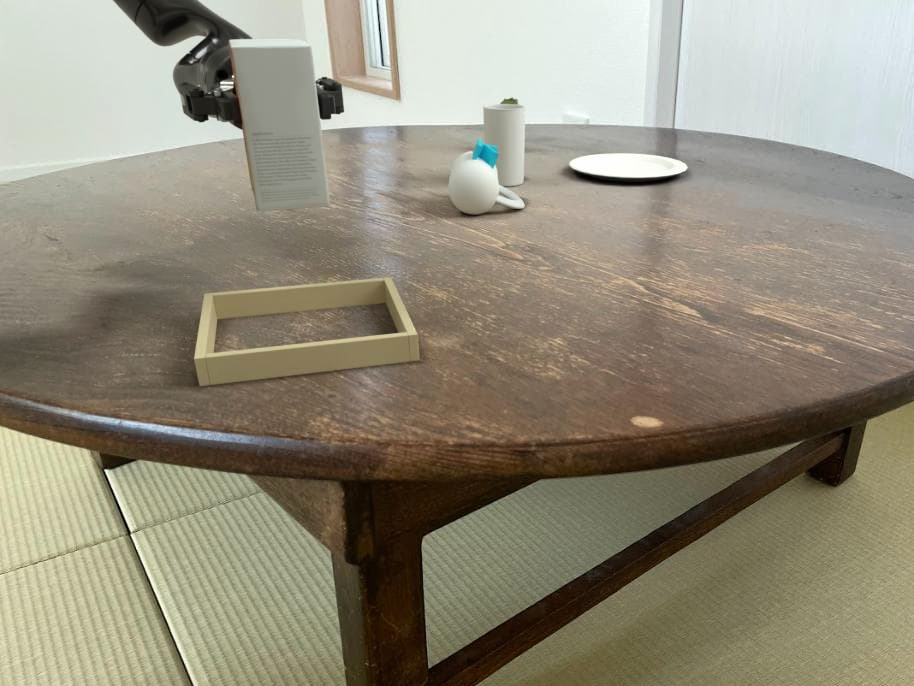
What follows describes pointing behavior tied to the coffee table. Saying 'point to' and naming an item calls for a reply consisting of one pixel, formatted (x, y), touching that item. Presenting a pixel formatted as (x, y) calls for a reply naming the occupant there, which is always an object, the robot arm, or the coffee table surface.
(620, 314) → the coffee table surface
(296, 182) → the small box
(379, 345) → the rectangular frame
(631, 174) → the plate
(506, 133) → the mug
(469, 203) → the mug
